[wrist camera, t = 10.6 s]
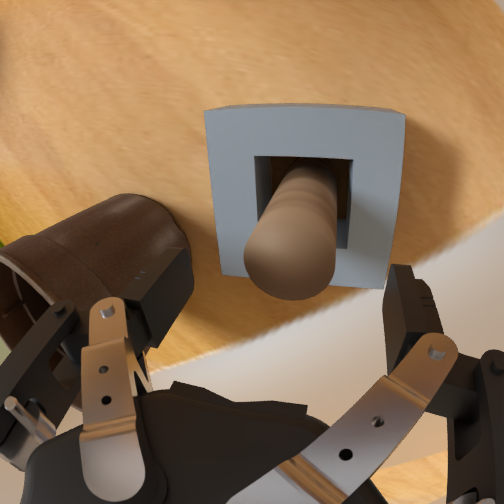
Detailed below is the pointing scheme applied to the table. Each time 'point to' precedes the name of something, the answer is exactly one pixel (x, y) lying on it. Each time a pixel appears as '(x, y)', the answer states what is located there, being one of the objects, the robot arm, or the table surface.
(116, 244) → the plant pot
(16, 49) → the table surface
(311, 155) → the socket block
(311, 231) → the dowel
